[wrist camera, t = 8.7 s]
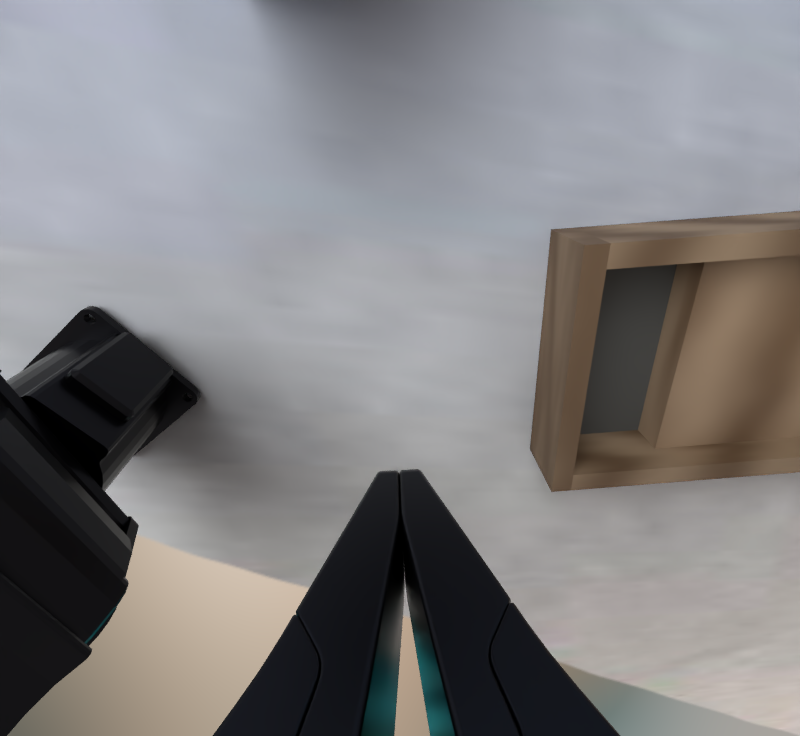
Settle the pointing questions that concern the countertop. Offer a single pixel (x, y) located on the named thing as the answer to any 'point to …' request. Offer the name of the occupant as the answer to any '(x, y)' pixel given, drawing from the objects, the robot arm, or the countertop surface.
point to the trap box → (670, 352)
